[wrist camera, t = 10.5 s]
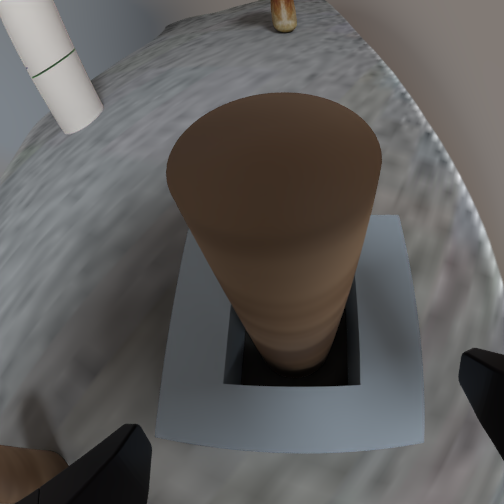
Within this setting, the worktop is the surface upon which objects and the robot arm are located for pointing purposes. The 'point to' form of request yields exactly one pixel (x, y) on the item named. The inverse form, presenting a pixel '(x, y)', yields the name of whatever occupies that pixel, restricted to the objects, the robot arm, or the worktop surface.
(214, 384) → the sleeve block
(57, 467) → the short walnut pin
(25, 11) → the cylindrical container
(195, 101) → the worktop surface
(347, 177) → the tall walnut pin
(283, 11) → the decorative mushroom
